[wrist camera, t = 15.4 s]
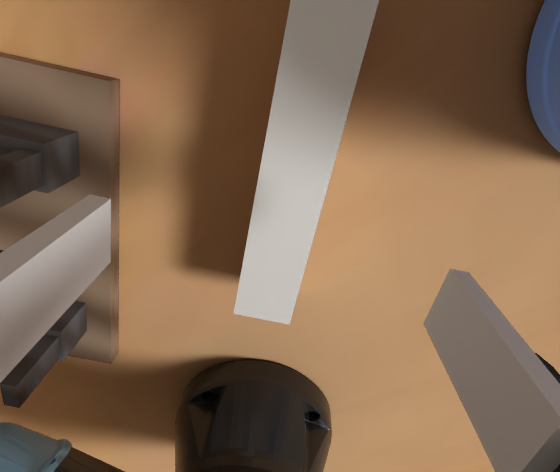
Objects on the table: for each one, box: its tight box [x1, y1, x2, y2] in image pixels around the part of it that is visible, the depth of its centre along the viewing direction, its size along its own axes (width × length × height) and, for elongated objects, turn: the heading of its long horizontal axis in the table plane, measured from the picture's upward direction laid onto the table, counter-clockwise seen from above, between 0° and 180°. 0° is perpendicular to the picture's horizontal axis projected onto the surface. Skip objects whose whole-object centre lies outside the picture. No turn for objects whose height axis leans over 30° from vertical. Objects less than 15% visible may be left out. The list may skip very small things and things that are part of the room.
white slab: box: [234, 0, 379, 324], centre depth 23 cm, size 20×4×5 cm, turn 169°
